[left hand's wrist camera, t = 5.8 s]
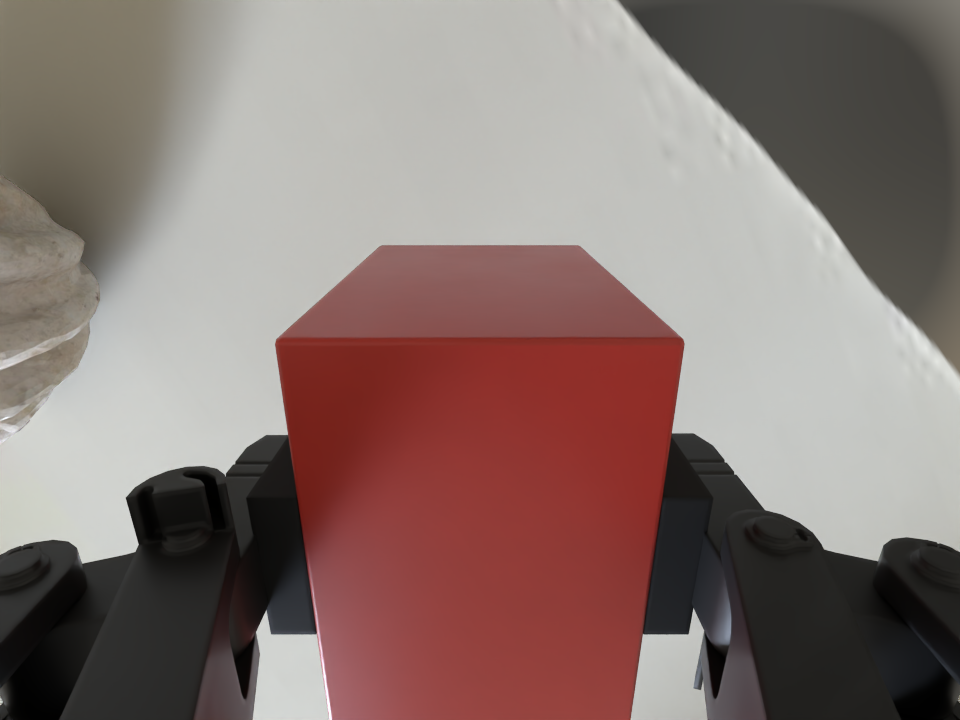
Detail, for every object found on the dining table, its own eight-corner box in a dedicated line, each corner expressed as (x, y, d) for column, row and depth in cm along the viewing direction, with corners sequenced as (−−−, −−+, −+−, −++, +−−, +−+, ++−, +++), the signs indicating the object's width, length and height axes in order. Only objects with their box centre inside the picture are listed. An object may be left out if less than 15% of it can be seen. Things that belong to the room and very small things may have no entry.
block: (580, 245, 15) (687, 339, 7) (564, 484, 17) (630, 737, 10) (379, 244, 15) (271, 339, 7) (395, 484, 17) (329, 737, 10)
